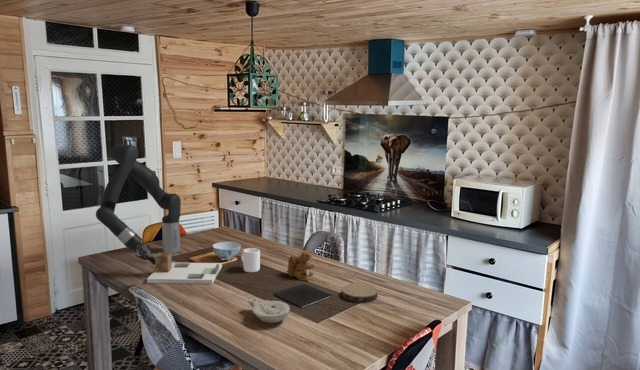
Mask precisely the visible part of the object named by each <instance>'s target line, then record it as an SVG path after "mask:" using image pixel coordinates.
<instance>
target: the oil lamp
mask: <svg viewBox="0 0 640 370" xmlns="http://www.w3.org/2000/svg"><path fill="white" fill-rule="evenodd" d="M248 304H249V305H250V306H251V307H252V312H253V314H254V316H256V317H257V318H258V319H259V320H260V321H261V322H263V323H266V324H277V323H279V322H282V321H283V320H284V319H286V317H288V316H289V315H288V314H289V313H290V306H289V304H288V303H286V302H283V301H281V300H263V299H261V298H257V297H254V298H249V299H248Z"/></svg>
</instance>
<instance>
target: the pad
mask: <svg viewBox="0 0 640 370" xmlns="http://www.w3.org/2000/svg"><path fill="white" fill-rule="evenodd" d="M213 270H214V268H205V269H204V270H203V271H202V273H201V277H203V276H204V275H205V274H213ZM219 273H220V271H219V269H218V271H217V272H216V274H215V279H216V278H217V277H218V275H219Z"/></svg>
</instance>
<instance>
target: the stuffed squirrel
mask: <svg viewBox="0 0 640 370" xmlns="http://www.w3.org/2000/svg"><path fill="white" fill-rule="evenodd" d="M298 254H299V255H298V256H297V255H291V256H290V257H289V258H288V262H287V263H288V265H287V271H286V273H287V275H288V276H289V277H293V278H294V277H295V279H297V280H299V281H304V282H308V281H309V280H310V279H309V277H311V276H313V275H314V272H312V271H310V270H312V269H314V268H315V264H314V263H311V262H310V261H311V260H312V254H311V253H310V252H309V251H308V250H305V249H303V250H302V251H300V252H299V253H298Z"/></svg>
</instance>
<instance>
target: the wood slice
mask: <svg viewBox="0 0 640 370" xmlns="http://www.w3.org/2000/svg"><path fill="white" fill-rule="evenodd" d="M378 292H379V291H378V289H377V288H376V287H375V286H373V285H370V284H367V283H359V282H358V283H348V284H345V285H344V286H342V288H341V297H342V298H343V299H344V300H345V301H349V302H353V303H360V304H361V303H369V302H374V301H375V300H377V299H378V294H379V293H378Z"/></svg>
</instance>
